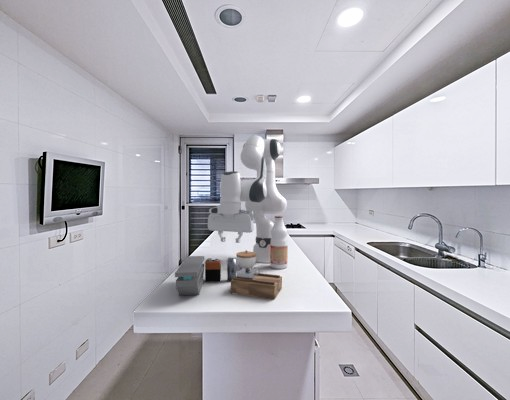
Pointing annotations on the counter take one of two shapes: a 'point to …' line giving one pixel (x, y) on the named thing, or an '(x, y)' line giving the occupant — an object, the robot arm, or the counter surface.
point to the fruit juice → (278, 244)
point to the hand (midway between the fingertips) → (230, 242)
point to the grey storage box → (190, 276)
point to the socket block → (258, 286)
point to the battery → (212, 270)
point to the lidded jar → (246, 259)
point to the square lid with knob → (248, 273)
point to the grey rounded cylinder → (231, 268)
